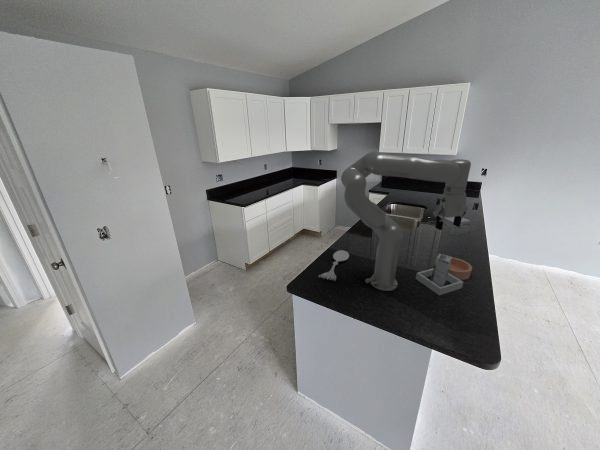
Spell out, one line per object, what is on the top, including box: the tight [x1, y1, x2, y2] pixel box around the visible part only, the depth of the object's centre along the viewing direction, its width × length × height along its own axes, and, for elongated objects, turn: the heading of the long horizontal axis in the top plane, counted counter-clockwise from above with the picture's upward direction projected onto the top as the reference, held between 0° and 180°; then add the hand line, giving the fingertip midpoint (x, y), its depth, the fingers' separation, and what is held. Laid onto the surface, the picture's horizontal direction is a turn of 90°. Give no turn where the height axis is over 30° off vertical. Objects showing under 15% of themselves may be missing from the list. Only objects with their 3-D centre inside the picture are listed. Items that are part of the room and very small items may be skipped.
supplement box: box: [434, 216, 472, 236], centre depth 179 cm, size 17×13×9 cm
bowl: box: [448, 256, 473, 281], centre depth 130 cm, size 14×14×4 cm
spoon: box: [318, 249, 350, 282], centre depth 136 cm, size 9×32×4 cm, turn 156°
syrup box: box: [430, 253, 453, 287], centre depth 119 cm, size 6×6×14 cm
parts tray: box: [415, 267, 464, 296], centre depth 121 cm, size 14×14×4 cm
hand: (447, 227), depth 113 cm, fingers open, 9 cm apart
